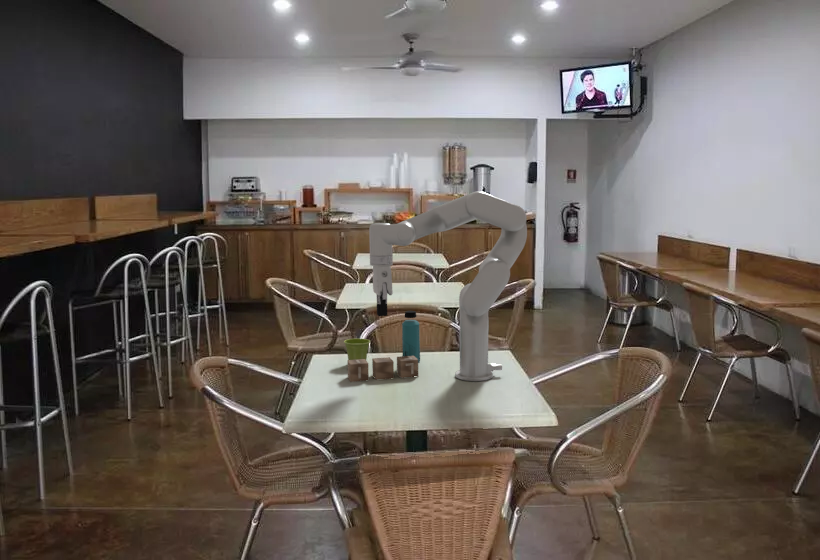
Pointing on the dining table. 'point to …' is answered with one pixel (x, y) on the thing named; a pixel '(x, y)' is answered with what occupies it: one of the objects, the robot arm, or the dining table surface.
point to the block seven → (407, 366)
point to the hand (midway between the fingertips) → (382, 315)
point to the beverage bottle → (411, 336)
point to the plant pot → (357, 348)
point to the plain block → (383, 368)
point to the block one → (358, 370)
